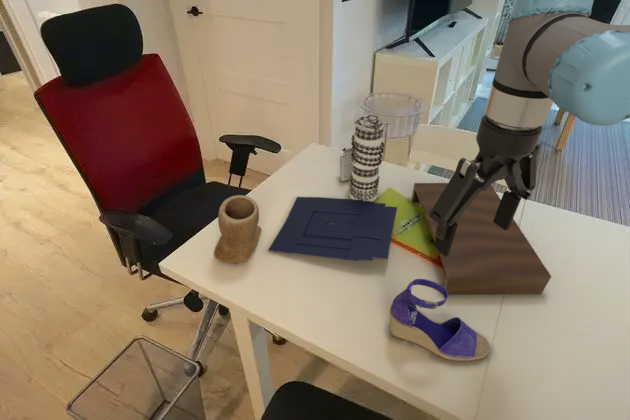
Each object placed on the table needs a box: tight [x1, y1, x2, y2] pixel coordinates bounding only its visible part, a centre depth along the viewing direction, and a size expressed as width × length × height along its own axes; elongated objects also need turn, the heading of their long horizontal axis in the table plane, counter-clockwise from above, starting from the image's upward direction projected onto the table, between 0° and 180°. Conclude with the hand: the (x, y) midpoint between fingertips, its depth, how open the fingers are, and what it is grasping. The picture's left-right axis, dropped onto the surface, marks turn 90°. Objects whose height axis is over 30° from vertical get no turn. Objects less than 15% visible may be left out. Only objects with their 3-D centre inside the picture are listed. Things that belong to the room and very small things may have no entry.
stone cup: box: [213, 194, 262, 265], centre depth 92 cm, size 15×12×15 cm
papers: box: [268, 196, 398, 262], centre depth 100 cm, size 24×30×4 cm
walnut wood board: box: [411, 182, 552, 296], centre depth 96 cm, size 36×22×6 cm, turn 0°
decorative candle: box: [348, 114, 386, 202], centre depth 106 cm, size 9×9×25 cm
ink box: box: [339, 147, 353, 182], centre depth 119 cm, size 12×2×12 cm, turn 115°
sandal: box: [389, 278, 490, 362], centre depth 71 cm, size 8×20×15 cm, turn 69°
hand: (471, 237), depth 63 cm, fingers open, 13 cm apart
